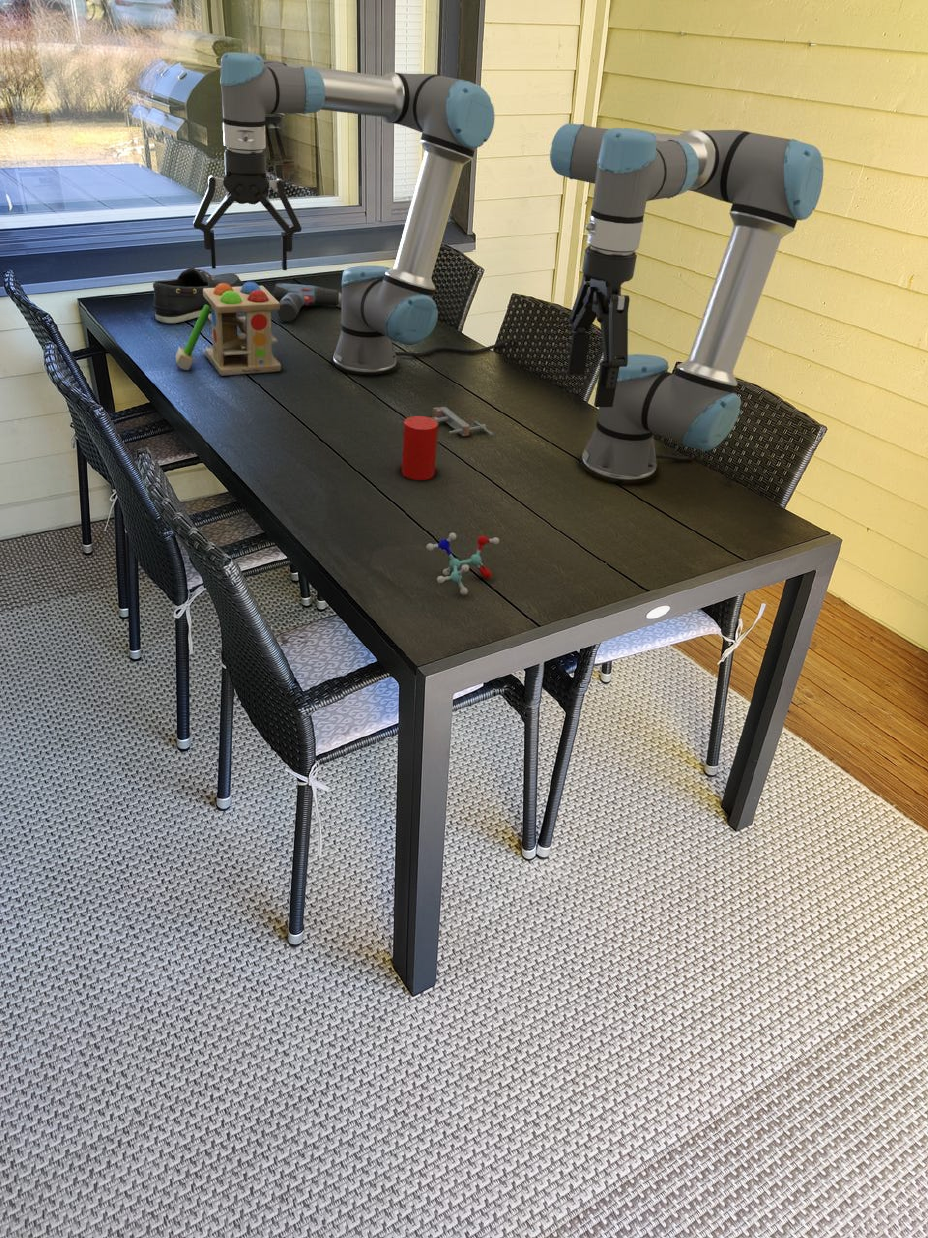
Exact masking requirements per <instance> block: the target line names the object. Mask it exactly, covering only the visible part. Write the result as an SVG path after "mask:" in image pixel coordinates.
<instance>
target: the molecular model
mask: <svg viewBox="0 0 928 1238" xmlns="http://www.w3.org/2000/svg"><path fill="white" fill-rule="evenodd" d="M456 539H457V534H456V533H455V532H450V533H449V534H448V538H444V539H441V540H440V541H439V542H438V543H434V544H433V543H427V545H426V550H427V551H428V552H432V551H433V550H434V549H439V548H440V549H441V550H444V551H445V552H446V554H447V556H448V558H449V563H448V566H449V567H447V568H443V570H442V575H438V576H437V578H436V581H437V583H438V584H440V585H442V584H443V583H444V582H446V581H447V582H448V581H452V582H453V583H457V585H458V587H459V589H460V590H459V593H460V594H461V595H462V596H466V595H467V594H468V592H469V590H468V588H466V587H464V585H463V582H462V579H463V574H464V573H467V572H469V570H470V566H469V565H468V564H471V565H473V566H474V567H475V566H476V568H477V569H478V571H479V572H480V573H481V577H482V578H483V579H486V580H488V579H490V578H491V577H492V571H491V569H488V568H487V567H486V566H485V565H484V563H483V562H482V557H481V556H480V555H481V551H482V549H483V547H484V546H485V545H486V544H491V543H492V544H493V545H498V544H499V543H500V538H498V537H496V536H495V537H493V538H488V537H486V536H484V535H480V536H478V537H477V540H476V541H477V544H478V547H477V548H476V552H475V554H472V555H471V557H470V558H468V559H463V560H460V559H458V558H456V557H455V556H454V555H453V553H452V552H451V549H450V547H451V541H455V540H456ZM454 557H455V558H454ZM460 567H461V568H460ZM458 569H459V570H458ZM452 570H453V571H452ZM451 571H452V572H451Z"/></svg>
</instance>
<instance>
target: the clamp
mask: <svg viewBox="0 0 928 1238" xmlns="http://www.w3.org/2000/svg"><path fill="white" fill-rule="evenodd" d="M431 418H432V419H434V420H436V421H437V422H438V425H440V423H445V424H447V425H448V426H449V427H451V428H452V430H449V431H448V434H459V435H461V436H462V437H468V436H470V432H474V431H479V432H481V431H482V432H483V431H485V433H487V434H489V436H490V437H491V438H493V437H494V436H495V432H492V431H490V430H489V429H487V425H486V424H485V423H479V421H478V420H474V421H473V425H474V426H471V425H470V424H468V422H466V421H464V419H462V418H460V417H459V416H458V415H457V414H456V413H454V412H453V411H451V410H450V409H449V408H448V407H447V406H439V407H432V417H431Z"/></svg>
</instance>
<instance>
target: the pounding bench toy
mask: <svg viewBox="0 0 928 1238" xmlns="http://www.w3.org/2000/svg"><path fill="white" fill-rule="evenodd" d="M203 296H204V297H205V299H206V300H207V301H208V302H209V304H210V305H211V307H210V306H208V305H204V307H203V309H202V311H201V314H200V316H199V317H197V320H196V322H195V324H194V327H193V329H192V331H191V332H190V333H191V334H190V336H189V338H188V340H187V343H186V344H185V347H184V348H182V347H180V346H179V347H178V349H177V351H176V354H175V357H174V358H175V362H176V365H177V366H178V368H179V369H182V370H185V371H189V370H190V369H191V367H192V365H193V363H194V356H193V351H194V348H195V347H196V345H197V342H198V340H199V337H200V336H201V333H202V332H203V329H204V326H205V325H206V322H207V320H209V321H210V322H211V336H212V337H211V338H212V339H211V340H212V348H205V349H204V352H205V353H204V355H205V357H206V359H208V361H209V363H210V364H211V365H212V366H213V367H214V369H215V370H216V371H217V372H218V374H219V375H220V376H222V377H223V376H234V375H235V376H236V375H246V374H247V375H250V374H262V373H275V372H281V370H282V364H281V363H280V362H279V360H278V359H277V358H276V357H275V356H274V355H273V348H272V347H273V345H272V344H276V343H278V342H279V341H278V339H277V338H276V337H275V336H274V334H272V311H278V310H280V302H278V301H277V300H276V299H275V296H273V295H272V294H271V293H270V292H269V290H268V289H267V288H266V287H264V285H259V284H257V283H256V282H255V281H247V282H245V283H244V284H242V287H231V286H230V285H228V284H226V283H221V284H218V285H217V286H216V287H215V288H204V289H203ZM210 310H211V311H210ZM238 313H244V314H245V315H244V316H238ZM238 329H239V331H240V333H239V334H238Z"/></svg>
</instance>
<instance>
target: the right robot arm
mask: <svg viewBox="0 0 928 1238" xmlns="http://www.w3.org/2000/svg"><path fill="white" fill-rule="evenodd" d="M550 146H551V147H550V151H549V162H550V166H551V168H552V169H553V171H554V173H556V174H557V175H559V176H562V177H565V178H568V179H569V180H576V181H581V182H585V183H590V184H594V190H593V197H592V206H591V208H590V209H591V210H590V217H589V223H586V224H585V230H586V231H587V237H586V243H587V244H588V246H586V248H585V249H584V254H583V260H582V268H581V269H582V270H581V271H582V278H581V283H580V286H579V288H578V292H577V295H576V297H575V300H574V303H573V306H572V308H571V312H570V314H569V318H568V324H570V325H571V331H572V336H571V342H570V349H569V356H568V363H567V369H566V373H567V375H585V372H586V364H587V359H588V352H589V347H590V340H591V334H590V333H592V332H593V326H592V325H593V324H594V322H595V320H597V322H598V323H599V324H600V335H601V344H602V355H603V356H602V357H603V360H602V361H600V363H599V372H598V379H597V385H596V390H595V396H594V402H593V407H594V408H598V412H597V418H596V419H597V420H596V424H595V428H594V431H593V433H592V435H591V436H590V438H589V439H588V442H587V444H586V445H585V447H584V450H583V451H582V453H581V458H580V459H581V460H580V465H581V468H582V469H583V470H584V471H585V472H586V473H587V474H589V476H590V475H591V476H592V477H594V478H597V479H598V480H602V481H604V482H607V483H613V484H619V485H638V484H643V483H647V482H649V481H651V480H652V479H653V478H654V477H655V475H656V470H657V465H658V463H657V459H664V460H665V459H666V460H674V461H675V460H676V461H690V459H691V456H689V455H688V456H677V455H670V454H656V449H655V441H654V436H655V435H657V436H660V437H662V438H666V439H668V440H670V441H672V442H676V443H679V444H681V445H683V446H684V447H685V448H692V449H695V450H698V451H702V452H708V451H711V450H713V449H715V448H716V447H718V446H719V445H720V444H721V443H722V442H723V441H724V440H725V439H726V438H727V437H728V435H730V432H731V431H732V429H733V428H734V426H735V424H736V422H737V420H738V419H739V415H740V412H741V406H742V399H741V398H740V396H739V395H738V394H737V393H735V391H736V389H737V386H738V381H737V379H736V377H735V374H734V370H735V368H736V365H737V362H738V359H739V356H740V354H741V351H742V348H743V346H744V342H745V340H746V337H747V335H748V332H749V329H750V327H751V323H752V321H753V319H754V318H753V317H754V315H755V313H756V309H757V308H758V303H759V302H760V299H761V296H762V293H763V290H764V288H765V285H766V283H767V279H768V276H769V274H770V271H771V268H772V266H773V263H774V260H775V259H776V258H775V257H776V254H777V252H778V249H779V247H780V244H781V241H782V239H783V238H784V237H786V236H788V235H790V234H791V233H792V232H794V231H795V228H796V225H797V223H798V221H804V220H807V219H809V218H810V216H812V214H813V212H814V210H815V209H816V207H817V205H818V203H819V199H820V196H821V193H822V192H821V191H822V188H823V183H824V182H823V181H824V160H823V157H822V156H823V155H822V153H821V152H820V150H819V148H818V147H816V146H815V145H813V144H810V143H807V142H803V141H800V140H798V139H795V138H792V139H791V138H785V137H779V136H774V135H769V134H761V133H756V132H750V131H747V130H741V129H714V130H713V129H712V130H710V129H709V130H707V129H705V130H704V129H703V130H701V129H699V130H698V129H690V130H686V131H683V132H682V133H680V134H670V133H660V132H652V131H648V130H645V129H639V128H629V127H612V128H604V127H596V126H591V125H585V124H583V123H579V124H578V123H571V122H568V123H565V124H563V125H562V126H561V127H560V128H559V129H557V131H556V132H555V134H554V136H553V137H552V141H551V145H550ZM689 191H690V192H694V193H696V194H697V193H698V194H701V195H704V196H706V197H710V198H712V199H714V200H718V201H720V202H725V203H728V204H731V208H730V209H729V213H728V214H729V216H730V219H731V221H732V223H733V228H732V231H731V233H730V236H729V239H728V242H727V246H726V248H725V250H724V253H723V256H722V260H721V262H720V265H719V268H718V270H717V274H716V277H715V280H714V283H713V285H712V289H711V291H710V295H709V297H708V300H707V304H706V305H705V309H704V312H703V314H702V317H701V320H700V323H699V326H698V328H697V332H696V335H695V337H694V341H693V343H692V346H691V349H690V353H689V354H688V358H687V359H686V360H684V361H682V362H681V363H679V364H677V365H676V368H675V370H674V373H672V372H670V371H668V370H669V368H670V366H669V362H668V360H667V359H666V358H664V357H661V356H657V355H653V354H645V353H644V354H643V353H631V354H630V353H629V308H630V295H627V294H622V285H623V284H624V283H626V282H630V281H631V280H633V278H634V274H635V270H636V269H635V268H636V263H637V258H638V255H637V253H636V252H635V251H638V249H639V248H640V245H641V244H640V243H641V238H642V231H643V226H644V221H645V220H644V218H645V213H646V206H647V202H649V201H657V200H661V199H662V200H663V199H668V200H669V199H671V198H674V197H676V196H679V195H682V194H685V193H686V192H689ZM589 332H590V333H589Z"/></svg>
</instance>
